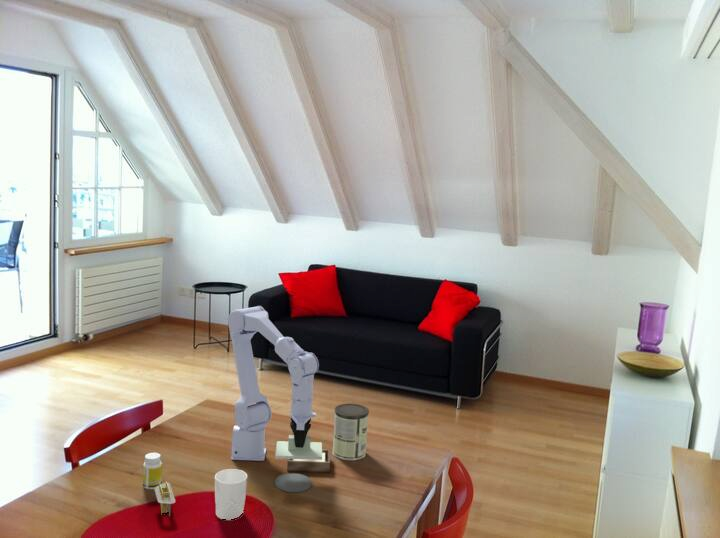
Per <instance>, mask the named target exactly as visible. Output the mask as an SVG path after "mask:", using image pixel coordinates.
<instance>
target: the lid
mask: <svg viewBox="0 0 720 538" xmlns="http://www.w3.org/2000/svg"><path fill="white" fill-rule="evenodd" d="M322 449H323V442H322V441H321V442H320V441H319V442H317V441H311V435H308V434H307V435H306V439H305V443H304V446H303V448H298V447H296V446H295V441H294V434H288V440H287V441H285V440H282V441H281V440H280V441H279V440H277V441H276V447H275V454H274V455H275V456H274V459H275V460H276V459H277V460H279V459H280V460H288V459H312V460H322Z"/></svg>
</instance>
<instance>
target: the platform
mask: <svg viewBox="0 0 720 538" xmlns="http://www.w3.org/2000/svg"><path fill="white" fill-rule="evenodd" d="M154 493H155V497H156V501H157V503H159V504H160V511H161V512H160V513H161V515H162V513H167V512H169V514H168V516H170V517H171V505H172V504H175V503H176V498H175V495H174V492H173V489H172V486H171V483H170V482H168V481H165V482H162V484H160V483H159V486H157V487H155V489H154Z"/></svg>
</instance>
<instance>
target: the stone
mask: <svg viewBox="0 0 720 538" xmlns="http://www.w3.org/2000/svg"><path fill="white" fill-rule="evenodd" d="M274 486H275V487H276V488H277V489H278V490H280V491H282V492H285V493H286V492H287V493H292V494H293V493H302V492H305V491H308V490H309V489H310V488H311V487H312V479H311V478H310V477H309V476H307V475H305V474H301V473H293V472H291V473H285V474H284V473H283V474H281V475H279V476H277V477H276V478H275V480H274Z"/></svg>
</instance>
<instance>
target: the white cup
mask: <svg viewBox="0 0 720 538" xmlns="http://www.w3.org/2000/svg"><path fill="white" fill-rule="evenodd" d="M247 484H248V473H246V472H245V471H243V470H241V469H237V468H236V469H235V468H227V469H222V470H220V471H217V472H216V473H215V475H214V500H215V501H214V503H215V515H216V517H217V518H218V519H220V520H222V519H226V520H225V521H232V520H231V519H234V518H237V517H239V516H240V515H241V514H242V513H243V514H244V511H243V510H244V509H245V504H246V503H245V502H246V494H247V486H248V485H247Z"/></svg>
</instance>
